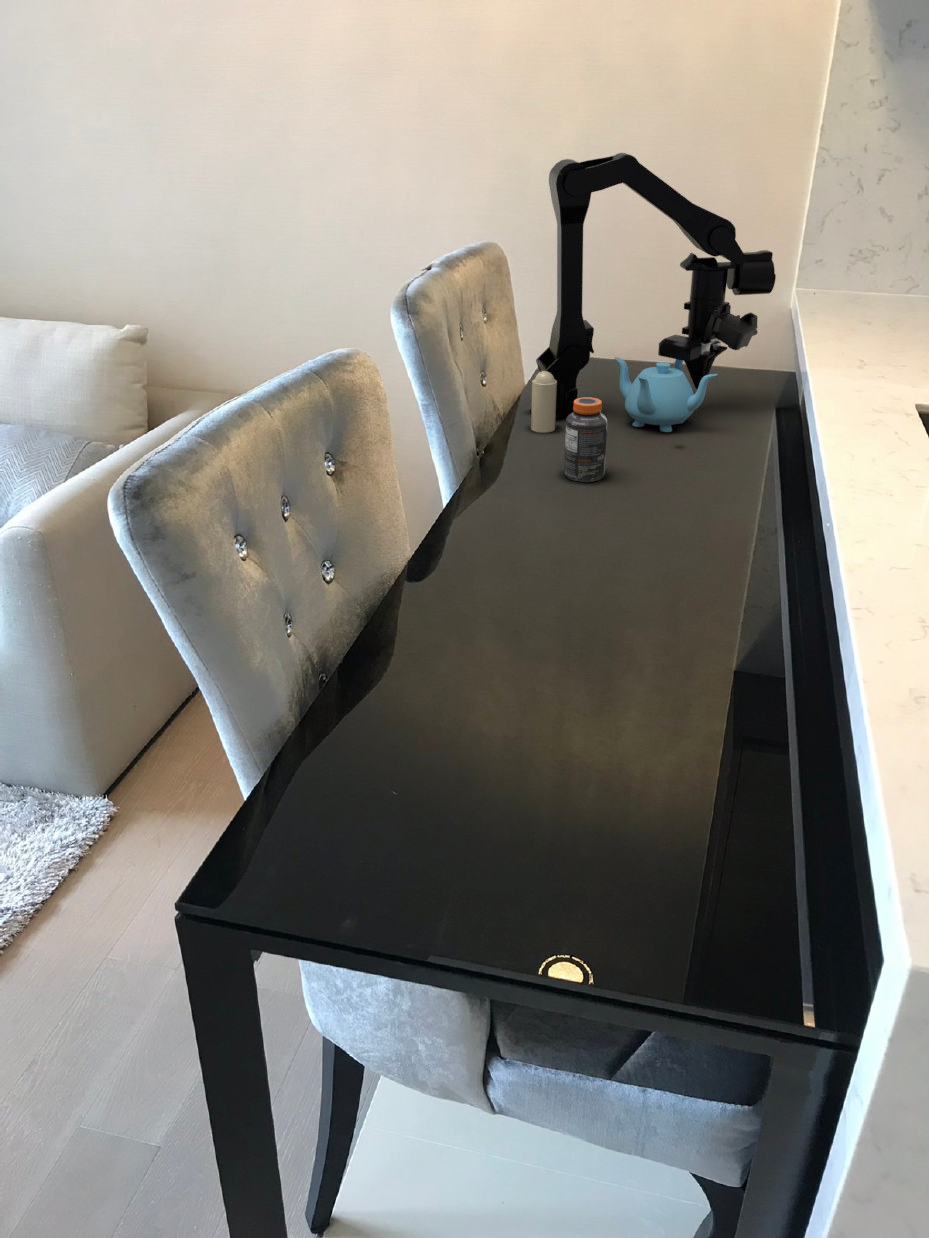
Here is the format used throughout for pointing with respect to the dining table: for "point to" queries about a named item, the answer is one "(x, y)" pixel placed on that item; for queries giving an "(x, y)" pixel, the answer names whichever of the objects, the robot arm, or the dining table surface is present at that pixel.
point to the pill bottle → (585, 441)
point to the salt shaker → (543, 402)
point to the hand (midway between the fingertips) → (698, 388)
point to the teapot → (660, 394)
